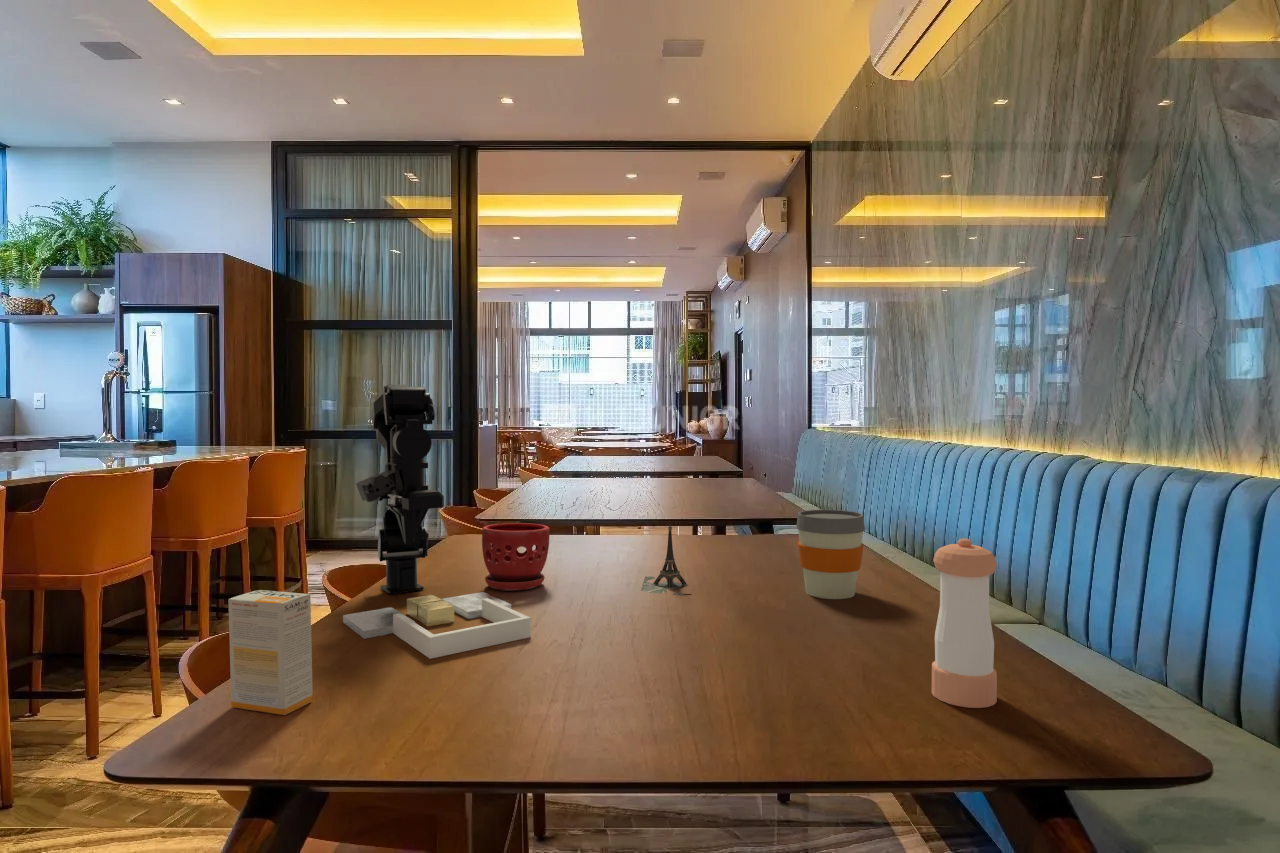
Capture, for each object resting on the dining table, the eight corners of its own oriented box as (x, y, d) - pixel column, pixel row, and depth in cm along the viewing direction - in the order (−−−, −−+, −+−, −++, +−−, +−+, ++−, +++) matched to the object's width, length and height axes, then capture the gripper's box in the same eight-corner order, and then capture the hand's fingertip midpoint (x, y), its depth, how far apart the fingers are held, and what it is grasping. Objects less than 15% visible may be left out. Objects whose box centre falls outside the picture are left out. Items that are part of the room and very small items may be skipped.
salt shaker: (992, 713, 85) (994, 546, 85) (925, 700, 89) (926, 540, 88) (1000, 692, 91) (1001, 537, 91) (937, 681, 95) (938, 532, 95)
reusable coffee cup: (872, 590, 142) (873, 512, 142) (853, 605, 132) (853, 520, 131) (809, 582, 149) (809, 507, 149) (786, 595, 138) (786, 515, 138)
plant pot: (544, 594, 140) (544, 531, 140) (475, 594, 141) (475, 531, 140) (553, 578, 153) (553, 520, 153) (490, 578, 154) (489, 520, 153)
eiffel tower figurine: (644, 578, 155) (644, 515, 155) (692, 579, 154) (693, 515, 154) (639, 597, 140) (639, 526, 140) (693, 597, 139) (693, 527, 139)
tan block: (407, 615, 127) (406, 598, 127) (432, 610, 130) (431, 594, 130) (417, 620, 124) (417, 604, 124) (442, 616, 127) (442, 599, 126)
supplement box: (315, 701, 89) (313, 593, 89) (283, 717, 85) (282, 603, 84) (261, 693, 92) (260, 587, 92) (228, 708, 87) (226, 597, 87)
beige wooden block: (418, 621, 123) (418, 604, 123) (444, 616, 126) (444, 600, 126) (427, 627, 120) (427, 610, 120) (454, 623, 122) (454, 606, 122)
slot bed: (343, 622, 122) (343, 615, 122) (483, 598, 137) (483, 591, 137) (364, 638, 113) (363, 630, 113) (511, 611, 128) (511, 604, 128)
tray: (393, 633, 116) (393, 614, 116) (487, 615, 126) (487, 598, 126) (430, 658, 104) (429, 637, 104) (530, 637, 114) (530, 617, 114)
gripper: (345, 456, 135) (346, 541, 135) (379, 462, 120) (380, 558, 120) (405, 453, 141) (406, 535, 142) (444, 459, 127) (445, 550, 127)
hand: (408, 544), depth 133 cm, fingers closed
